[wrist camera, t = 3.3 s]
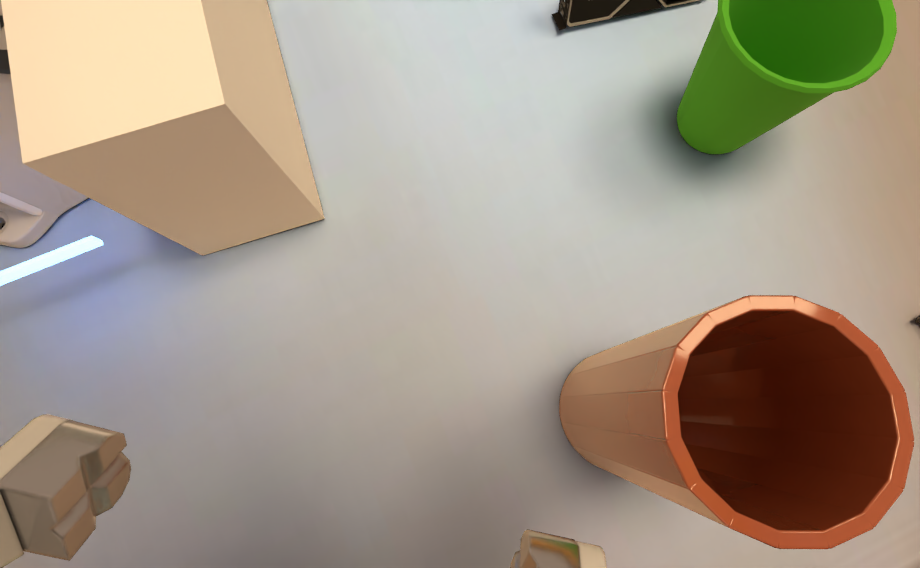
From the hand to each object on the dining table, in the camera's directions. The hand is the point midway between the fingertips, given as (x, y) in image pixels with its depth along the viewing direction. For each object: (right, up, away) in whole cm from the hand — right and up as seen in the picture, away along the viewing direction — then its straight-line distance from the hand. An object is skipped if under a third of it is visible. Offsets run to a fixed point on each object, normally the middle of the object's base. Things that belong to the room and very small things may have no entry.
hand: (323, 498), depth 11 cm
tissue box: (-10, +22, +21) cm, 32 cm away
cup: (+21, +16, +27) cm, 38 cm away
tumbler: (+13, -4, +23) cm, 26 cm away
